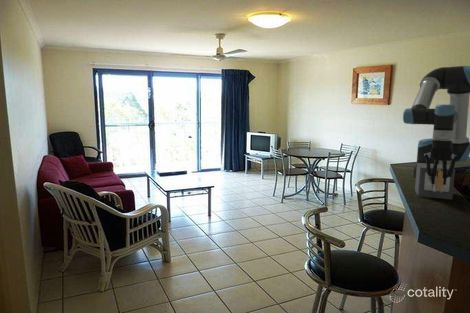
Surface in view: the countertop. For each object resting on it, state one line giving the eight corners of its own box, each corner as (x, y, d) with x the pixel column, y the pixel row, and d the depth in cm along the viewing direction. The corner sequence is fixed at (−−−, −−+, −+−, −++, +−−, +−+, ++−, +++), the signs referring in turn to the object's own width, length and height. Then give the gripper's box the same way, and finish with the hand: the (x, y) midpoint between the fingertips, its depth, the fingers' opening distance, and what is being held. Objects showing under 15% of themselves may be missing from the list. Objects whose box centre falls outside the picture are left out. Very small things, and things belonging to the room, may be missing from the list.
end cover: (420, 184, 169) (422, 164, 168) (443, 185, 166) (445, 165, 164) (425, 193, 152) (427, 171, 150) (451, 195, 148) (453, 172, 147)
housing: (414, 189, 174) (417, 162, 171) (446, 192, 168) (449, 164, 166) (418, 196, 161) (420, 167, 159) (452, 199, 155) (455, 169, 153)
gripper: (424, 139, 148) (420, 191, 152) (464, 141, 143) (458, 195, 146) (422, 138, 155) (418, 188, 159) (460, 139, 150) (455, 190, 153)
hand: (437, 191), depth 153 cm, fingers closed on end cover, 2 cm apart
